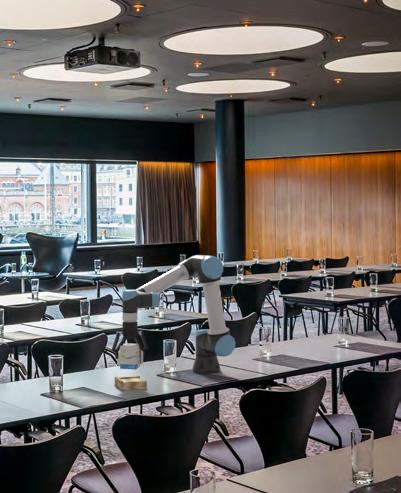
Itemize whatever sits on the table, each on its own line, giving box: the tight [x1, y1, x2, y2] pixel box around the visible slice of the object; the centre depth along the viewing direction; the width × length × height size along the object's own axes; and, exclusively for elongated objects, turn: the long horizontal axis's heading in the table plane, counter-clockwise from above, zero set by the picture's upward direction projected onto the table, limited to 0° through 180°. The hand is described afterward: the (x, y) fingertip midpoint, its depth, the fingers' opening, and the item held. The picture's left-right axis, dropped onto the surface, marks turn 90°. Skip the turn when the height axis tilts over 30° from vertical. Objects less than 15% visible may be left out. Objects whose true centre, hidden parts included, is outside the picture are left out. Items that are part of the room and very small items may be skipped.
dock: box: [114, 375, 148, 392], centre depth 449 cm, size 13×14×4 cm
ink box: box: [119, 342, 141, 370], centre depth 448 cm, size 9×8×12 cm
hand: (130, 364), depth 448 cm, fingers closed on ink box, 11 cm apart
